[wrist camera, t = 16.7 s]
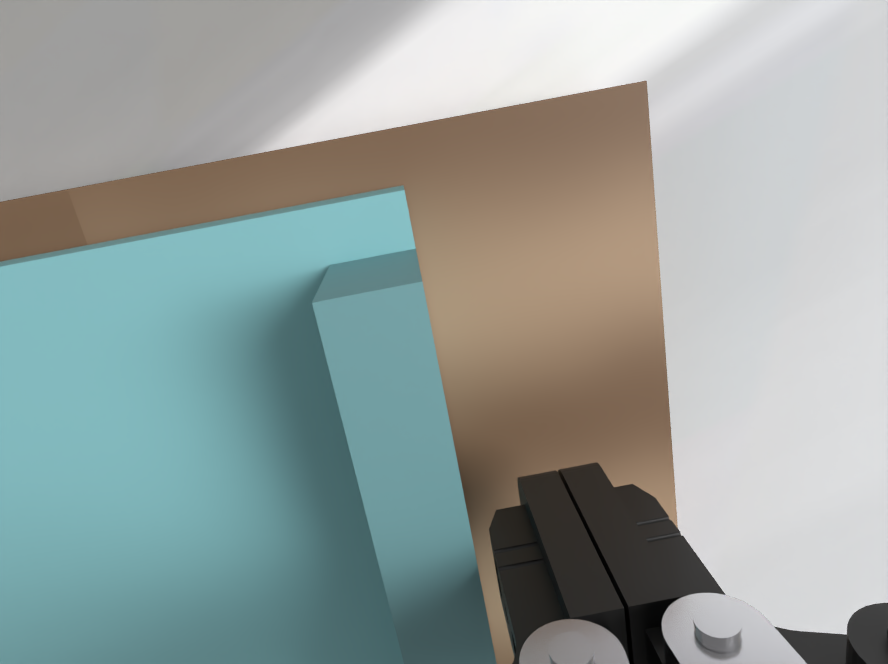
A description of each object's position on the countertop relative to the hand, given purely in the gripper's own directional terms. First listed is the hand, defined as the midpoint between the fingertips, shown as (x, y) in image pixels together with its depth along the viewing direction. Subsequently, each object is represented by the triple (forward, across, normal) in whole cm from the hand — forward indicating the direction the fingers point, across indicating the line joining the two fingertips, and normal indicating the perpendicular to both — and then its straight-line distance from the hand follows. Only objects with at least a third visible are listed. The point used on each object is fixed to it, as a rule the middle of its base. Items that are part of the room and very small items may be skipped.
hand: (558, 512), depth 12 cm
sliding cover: (+2, +7, 0) cm, 7 cm away
